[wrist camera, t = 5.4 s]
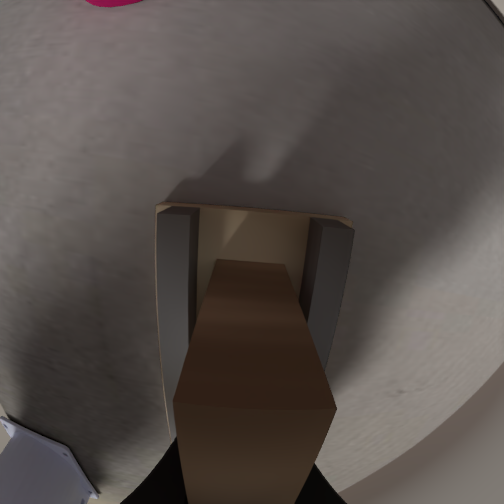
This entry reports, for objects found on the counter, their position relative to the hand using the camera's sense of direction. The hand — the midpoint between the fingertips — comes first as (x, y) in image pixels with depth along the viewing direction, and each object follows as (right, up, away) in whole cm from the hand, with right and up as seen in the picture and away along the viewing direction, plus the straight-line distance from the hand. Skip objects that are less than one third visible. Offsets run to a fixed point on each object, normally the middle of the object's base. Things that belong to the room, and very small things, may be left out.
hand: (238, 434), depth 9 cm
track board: (0, +1, +4) cm, 4 cm away
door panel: (0, +1, +3) cm, 3 cm away
